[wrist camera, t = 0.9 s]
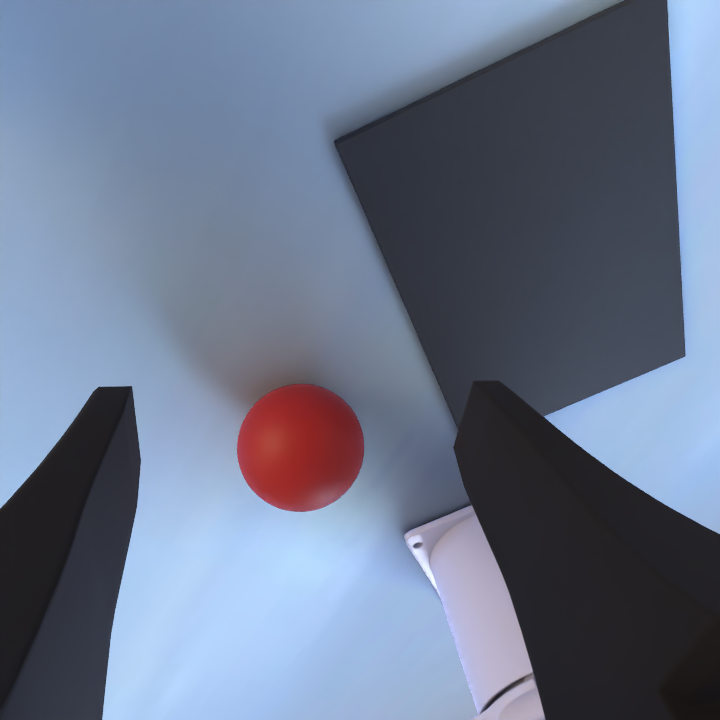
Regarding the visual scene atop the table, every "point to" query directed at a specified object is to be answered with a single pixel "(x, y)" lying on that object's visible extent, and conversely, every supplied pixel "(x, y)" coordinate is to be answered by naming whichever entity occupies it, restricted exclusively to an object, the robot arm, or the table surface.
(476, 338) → the mat
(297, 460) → the ball
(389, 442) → the table surface
